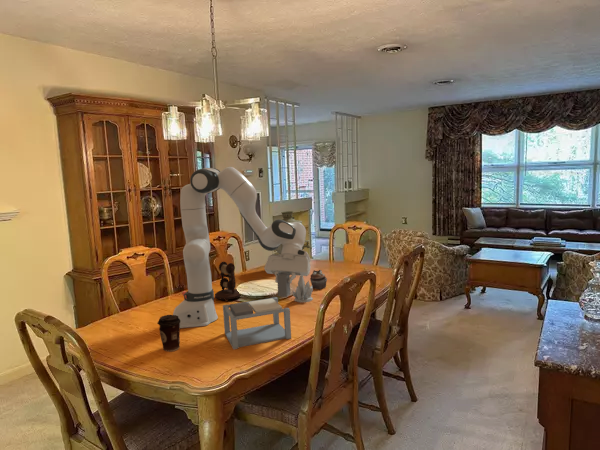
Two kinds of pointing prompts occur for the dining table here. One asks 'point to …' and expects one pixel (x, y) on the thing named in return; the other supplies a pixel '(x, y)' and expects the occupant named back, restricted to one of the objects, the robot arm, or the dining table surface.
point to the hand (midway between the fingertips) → (283, 282)
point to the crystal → (303, 291)
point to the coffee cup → (170, 332)
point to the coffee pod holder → (227, 282)
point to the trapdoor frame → (256, 328)
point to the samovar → (290, 219)
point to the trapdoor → (254, 307)
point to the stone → (283, 284)
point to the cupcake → (318, 280)
